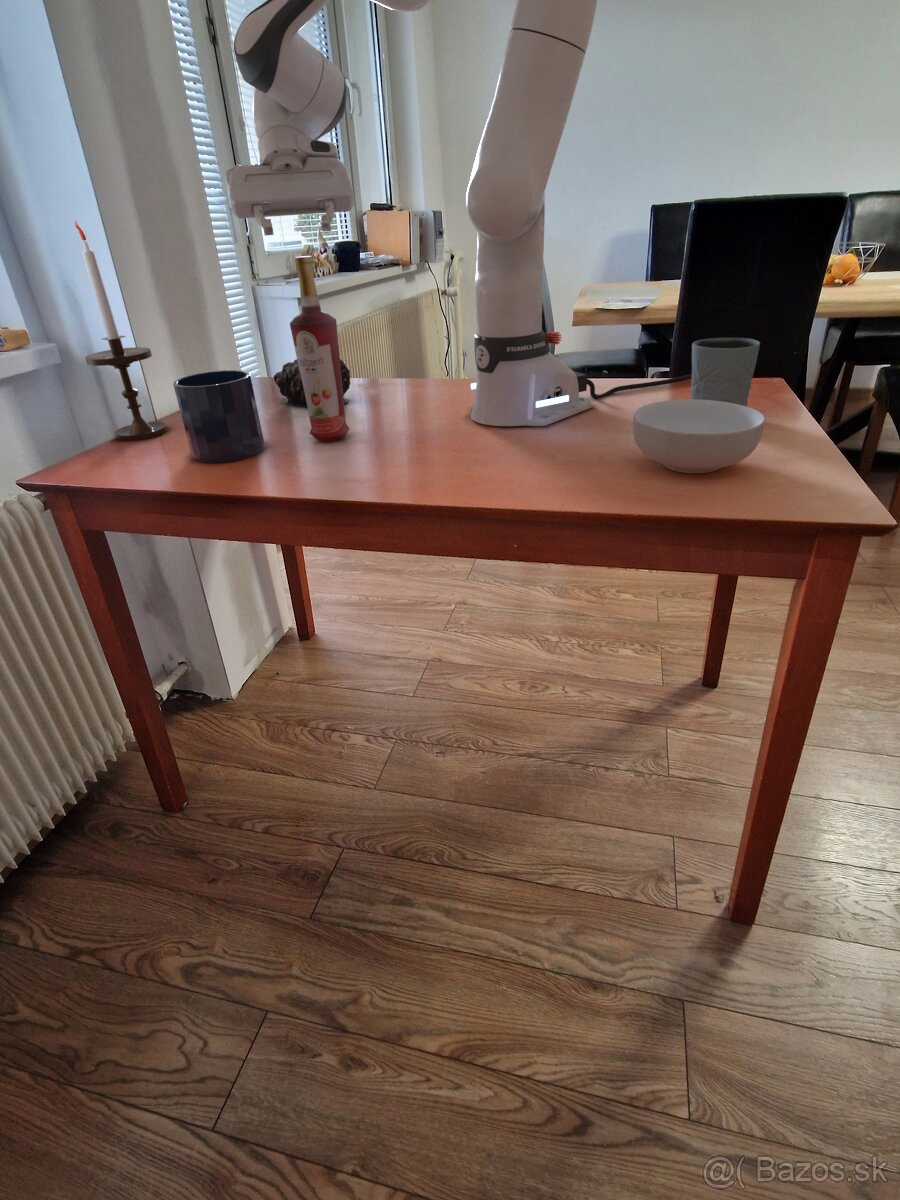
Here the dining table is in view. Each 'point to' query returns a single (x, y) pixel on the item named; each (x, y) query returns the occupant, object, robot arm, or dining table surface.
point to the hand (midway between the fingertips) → (297, 230)
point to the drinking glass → (723, 369)
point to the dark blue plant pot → (220, 415)
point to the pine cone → (293, 384)
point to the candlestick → (118, 354)
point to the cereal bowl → (697, 433)
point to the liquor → (318, 359)
